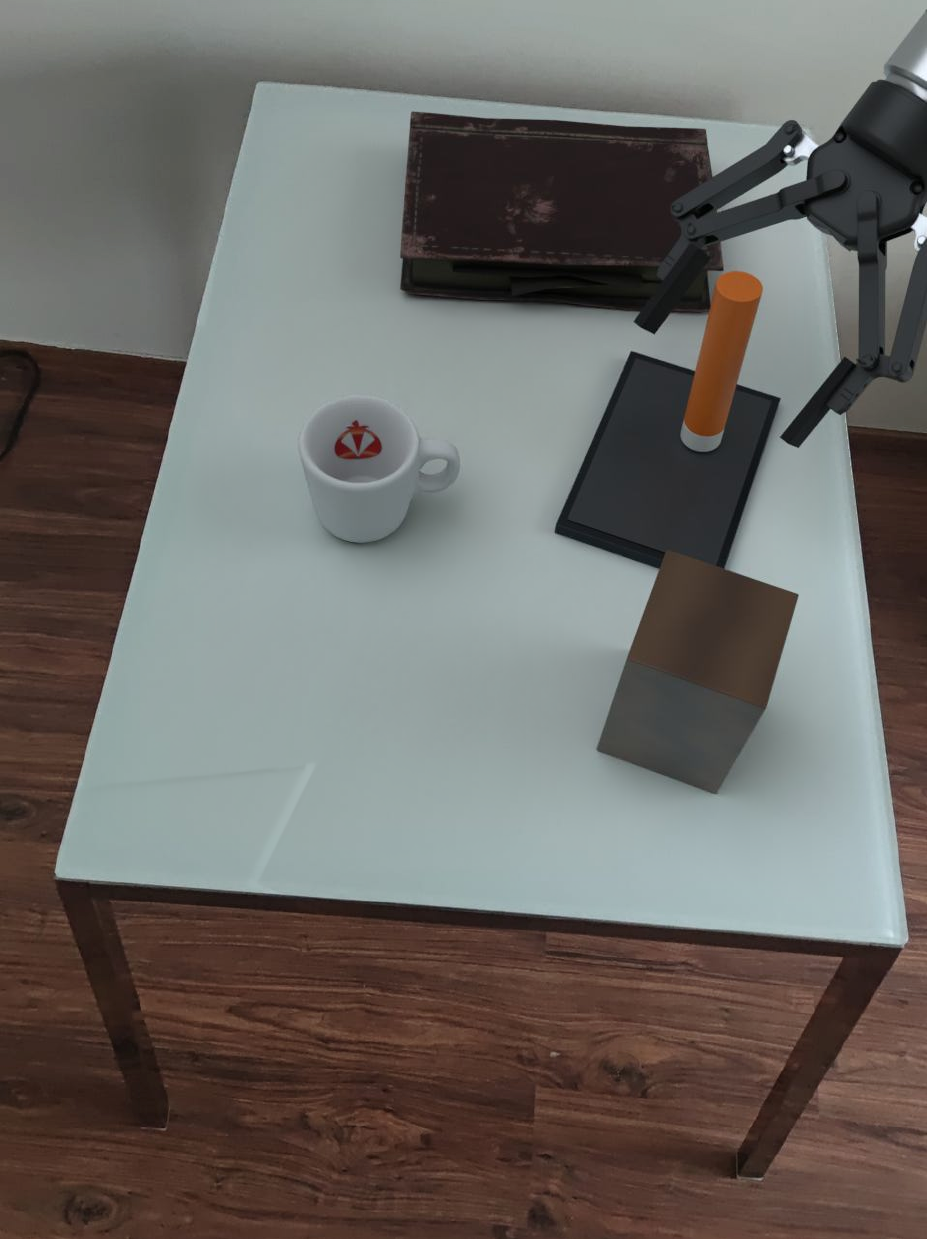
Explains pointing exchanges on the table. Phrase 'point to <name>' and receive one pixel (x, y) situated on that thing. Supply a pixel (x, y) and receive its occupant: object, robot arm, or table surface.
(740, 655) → the tall brown-topped block
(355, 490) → the cup
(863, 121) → the robot arm
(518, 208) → the diary
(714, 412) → the orange cylinder
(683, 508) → the tablet
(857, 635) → the table surface
